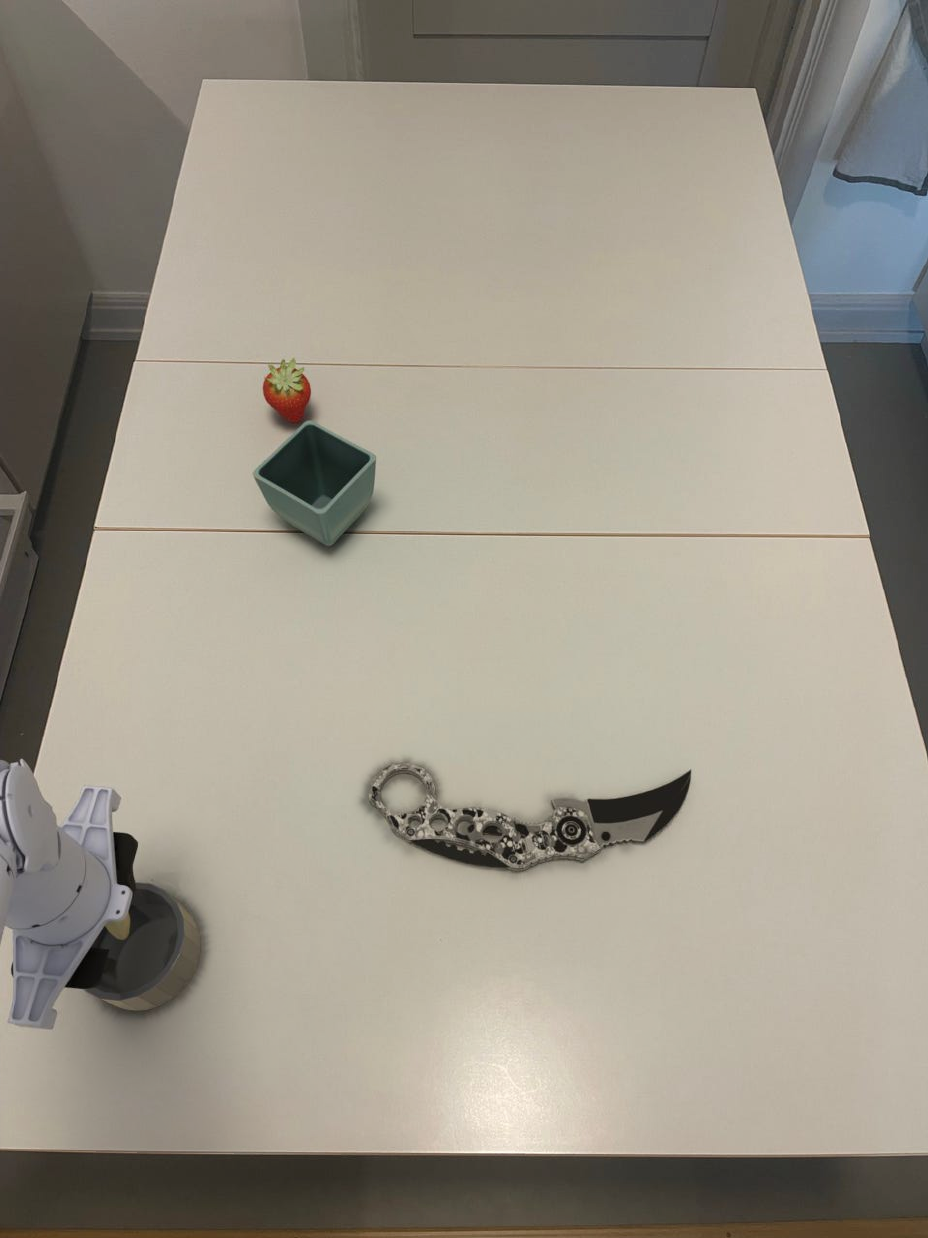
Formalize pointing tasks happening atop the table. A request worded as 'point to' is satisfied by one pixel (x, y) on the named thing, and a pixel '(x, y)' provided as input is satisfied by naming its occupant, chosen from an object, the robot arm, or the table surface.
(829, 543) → the table surface
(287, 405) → the fruit
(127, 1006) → the holder
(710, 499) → the table surface
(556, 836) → the knife
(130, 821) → the table surface
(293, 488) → the flower pot
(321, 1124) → the table surface
